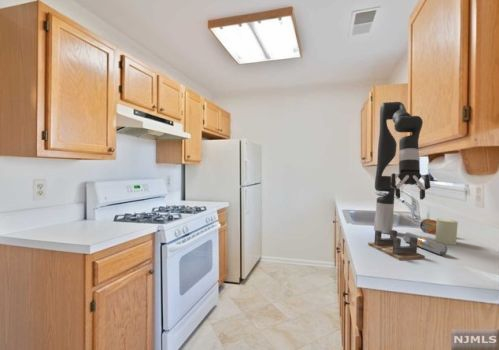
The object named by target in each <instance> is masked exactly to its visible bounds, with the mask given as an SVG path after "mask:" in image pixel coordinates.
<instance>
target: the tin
mask: <svg viewBox="0 0 499 350" xmlns="http://www.w3.org/2000/svg"><path fill="white" fill-rule="evenodd" d="M436 221H437V220H436V219H428V218H426V219H422V220H421V221H420V223H419V226H420V227H419V228H420V230H421V231H422V232H423V233H426V234H429V235H434V236H436Z"/></svg>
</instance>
